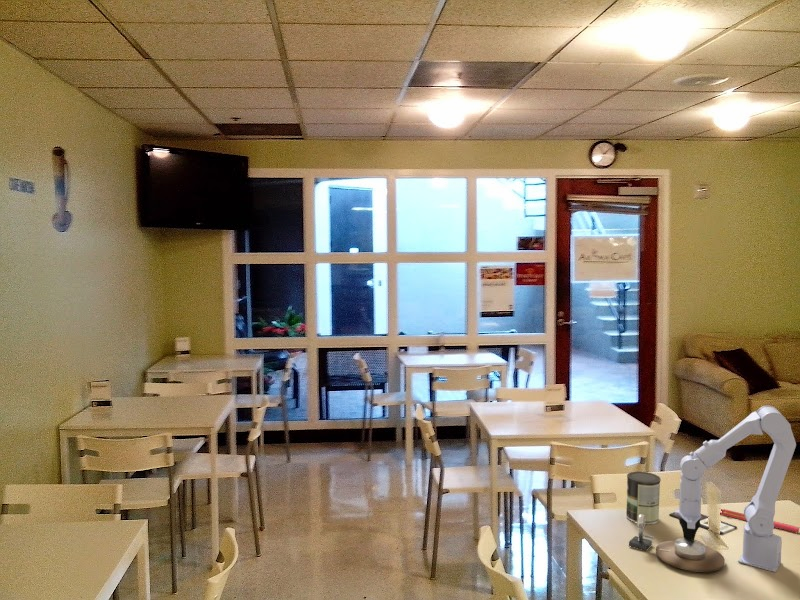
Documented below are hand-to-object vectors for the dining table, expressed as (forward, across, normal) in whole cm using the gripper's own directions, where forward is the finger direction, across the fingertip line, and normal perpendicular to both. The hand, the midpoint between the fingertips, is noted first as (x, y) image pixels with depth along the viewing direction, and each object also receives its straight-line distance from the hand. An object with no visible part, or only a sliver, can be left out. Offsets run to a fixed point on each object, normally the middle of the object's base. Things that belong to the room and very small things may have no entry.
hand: (688, 543), depth 197 cm
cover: (+1, +5, 0) cm, 5 cm away
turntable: (+3, +5, 0) cm, 6 cm away
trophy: (+3, 0, -13) cm, 13 cm away
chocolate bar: (+3, -26, +6) cm, 27 cm away
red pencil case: (+3, -31, +23) cm, 39 cm away
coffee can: (+3, -22, -13) cm, 25 cm away
